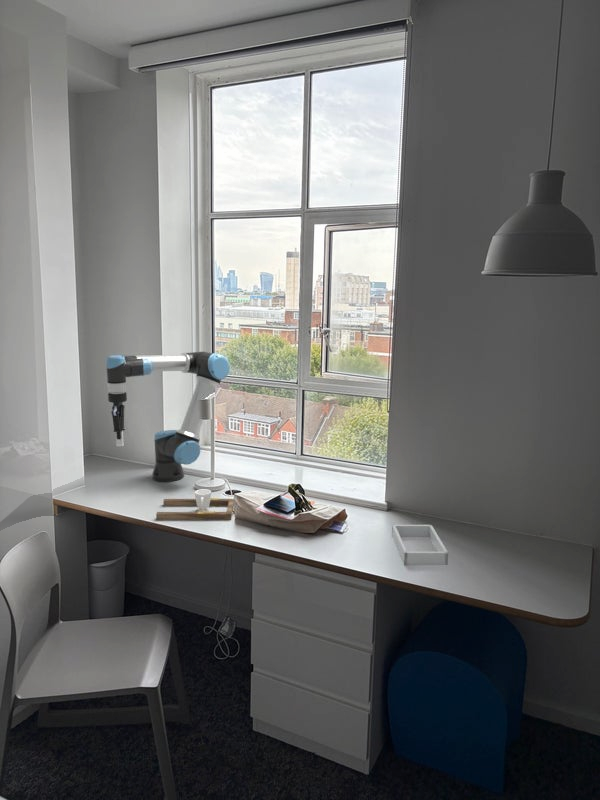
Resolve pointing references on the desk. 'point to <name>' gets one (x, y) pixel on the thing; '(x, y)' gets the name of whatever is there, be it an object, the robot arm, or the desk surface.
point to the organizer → (419, 557)
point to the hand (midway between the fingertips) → (120, 445)
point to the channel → (200, 514)
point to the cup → (203, 499)
